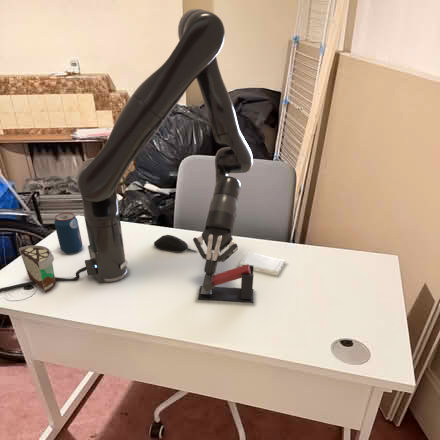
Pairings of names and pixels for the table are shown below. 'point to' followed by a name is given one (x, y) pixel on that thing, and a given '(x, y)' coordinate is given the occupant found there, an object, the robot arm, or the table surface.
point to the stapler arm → (225, 277)
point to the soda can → (68, 233)
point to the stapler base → (231, 291)
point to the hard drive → (263, 263)
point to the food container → (39, 266)
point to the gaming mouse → (171, 244)
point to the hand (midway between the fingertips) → (209, 274)
